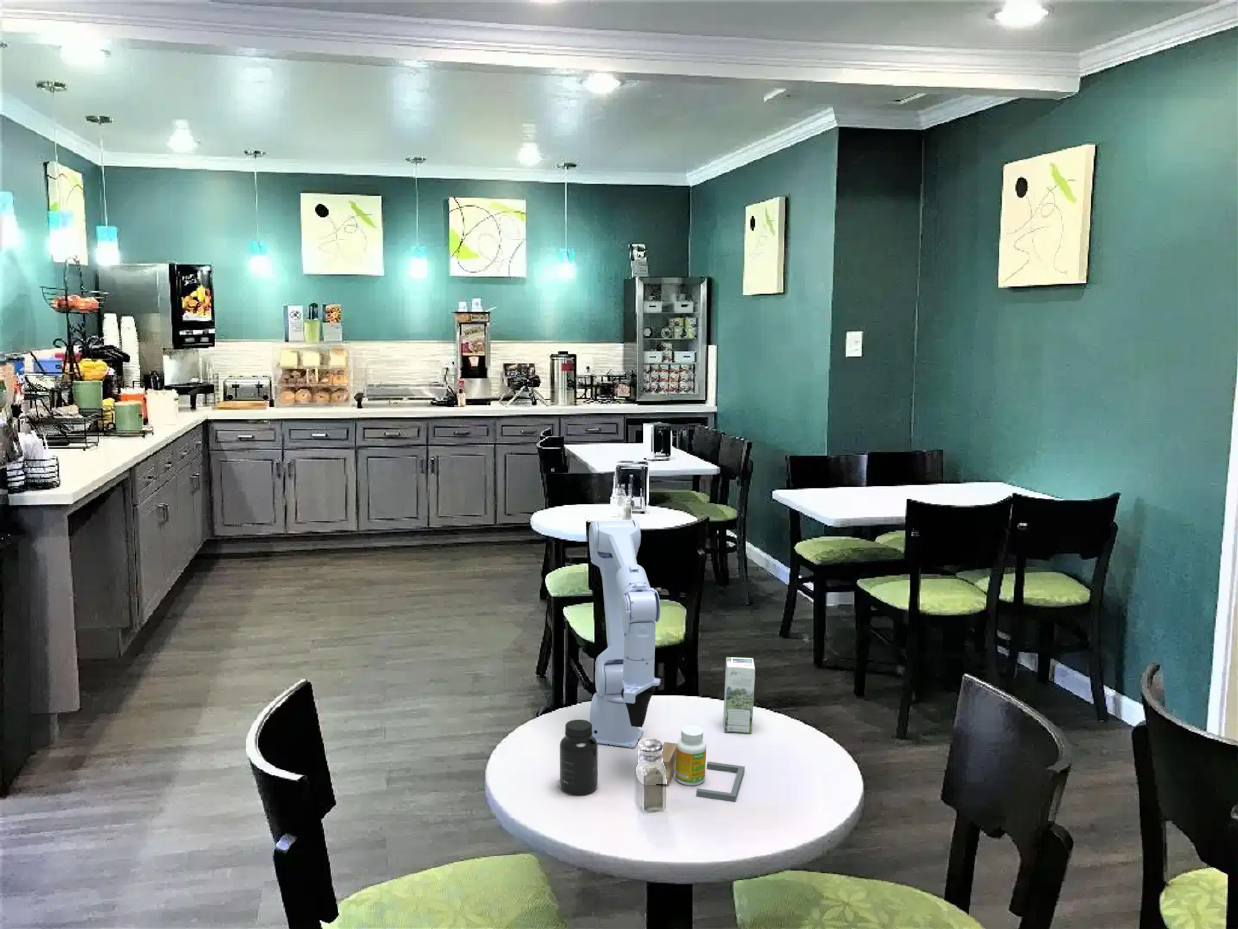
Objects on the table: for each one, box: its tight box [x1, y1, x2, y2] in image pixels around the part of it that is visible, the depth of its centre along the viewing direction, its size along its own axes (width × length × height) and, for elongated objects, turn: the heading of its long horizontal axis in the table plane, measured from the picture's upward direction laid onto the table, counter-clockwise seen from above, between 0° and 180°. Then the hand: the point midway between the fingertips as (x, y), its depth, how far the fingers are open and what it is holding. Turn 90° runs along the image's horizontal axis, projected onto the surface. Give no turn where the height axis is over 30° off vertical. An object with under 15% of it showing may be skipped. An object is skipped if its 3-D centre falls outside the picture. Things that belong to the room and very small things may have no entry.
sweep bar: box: [662, 741, 677, 786], centre depth 186 cm, size 2×8×4 cm, turn 166°
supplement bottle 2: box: [675, 724, 707, 787], centre depth 184 cm, size 5×5×10 cm
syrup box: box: [722, 656, 756, 734], centre depth 207 cm, size 6×6×14 cm
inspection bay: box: [695, 761, 746, 803], centre depth 184 cm, size 7×12×1 cm, turn 165°
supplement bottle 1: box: [559, 719, 599, 796], centre depth 180 cm, size 7×7×12 cm
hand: (637, 725), depth 186 cm, fingers closed
